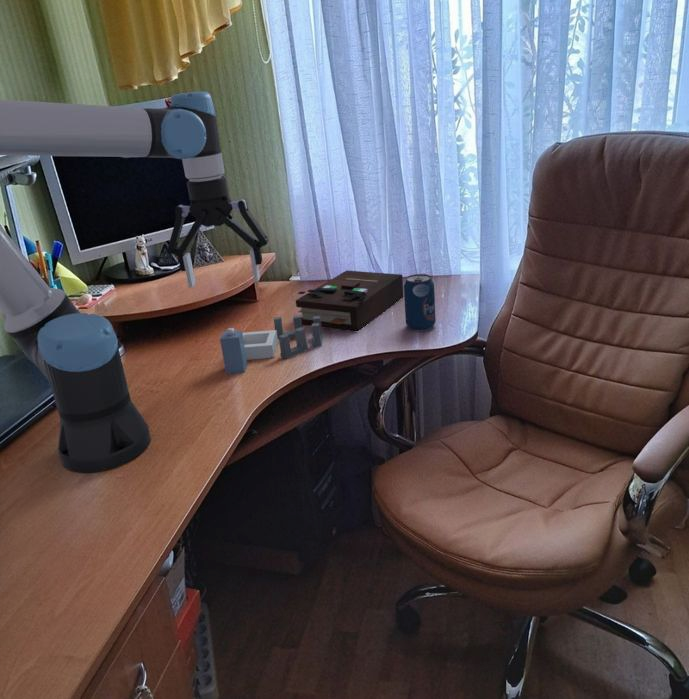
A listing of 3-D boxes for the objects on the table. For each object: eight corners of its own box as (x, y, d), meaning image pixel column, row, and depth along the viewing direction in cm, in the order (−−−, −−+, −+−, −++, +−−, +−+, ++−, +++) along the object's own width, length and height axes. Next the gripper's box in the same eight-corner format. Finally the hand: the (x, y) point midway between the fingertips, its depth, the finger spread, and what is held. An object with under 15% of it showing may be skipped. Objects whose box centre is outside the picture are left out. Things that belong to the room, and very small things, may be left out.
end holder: (233, 360, 147) (231, 348, 145) (240, 345, 155) (238, 333, 154) (273, 357, 146) (271, 345, 145) (278, 342, 154) (276, 330, 153)
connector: (226, 373, 141) (218, 333, 137) (229, 365, 144) (222, 326, 141) (244, 372, 141) (238, 332, 137) (247, 364, 144) (241, 325, 141)
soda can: (432, 332, 151) (430, 282, 146) (402, 331, 153) (399, 282, 149) (438, 321, 157) (436, 273, 152) (410, 320, 159) (407, 273, 155)
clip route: (269, 360, 145) (266, 339, 143) (276, 336, 158) (274, 317, 156) (320, 356, 144) (317, 335, 142) (323, 333, 157) (320, 313, 155)
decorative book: (410, 269, 174) (355, 307, 151) (411, 296, 177) (357, 338, 154) (346, 264, 183) (285, 299, 160) (349, 290, 186) (289, 329, 163)
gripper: (272, 168, 130) (286, 272, 138) (149, 180, 132) (170, 281, 140) (266, 174, 123) (282, 283, 132) (136, 187, 125) (160, 293, 134)
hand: (224, 282), depth 136 cm, fingers open, 13 cm apart
